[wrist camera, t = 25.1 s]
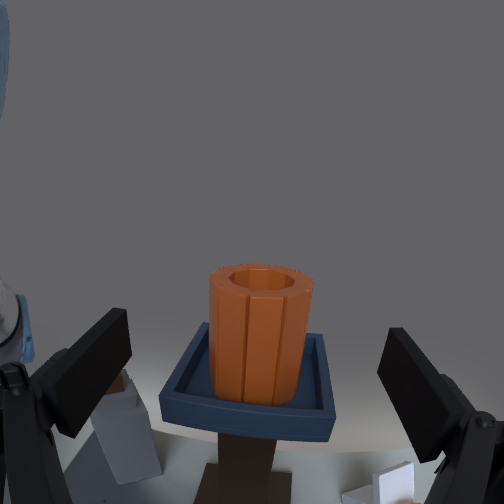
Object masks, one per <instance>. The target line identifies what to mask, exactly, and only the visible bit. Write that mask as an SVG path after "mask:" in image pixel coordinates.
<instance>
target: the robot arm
mask: <svg viewBox="0 0 504 504" xmlns="http://www.w3.org/2000/svg"><path fill="white" fill-rule="evenodd" d="M8 61H9V20H8V14H7V10H6V7H5V5H4V4H3V2H2V1H1V0H0V118H1V115H2V111H3V107H4V101H5V92H6V88H5V86H6V81H7V75H8ZM131 356H132V351H131V344H130V337H129V329H128V321H127V311H126V309H119V308H112V309H111V310H110V311H109V312H108V313H107V314H106V315H105V316H104V317H102V318H101V319H100V320H99V321H98V322H97V323H96V324H95V325H94V326H93V327H92V328H90V329H89V330H88V331H87V332H86V333H85V334H84V335H83V336H82V337H81V338H80V339H79V340H78V341H77V342H76V343H75V344H74V345H72V346H71V347H70V348H69V349H66V348H64V349H62V350H60V351H58V352H56V353H55V354H54V355H53V356H52V357H51V358H50V359H49V360H47V361H46V362H45V363H44V365H42V366H41V367H40V368H39V369H38V370H37V371H36V372H35V373H34V374H33V375H32V376H31V377H30V378H29V377H28V374H27V371H26V368H25V365H24V364H26V363H30V362H32V361H33V360H34V357H35V352H34V346H33V340H32V334H31V327H30V320H29V313H28V305H27V300H26V297H25V296H23V295H18V294H17V295H15V294H14V293H13V291H12V290H11V289H10V288H9V287H8V286H7V285H6V284H5V283H3V282H1V279H0V384H1V386H2V387H1V386H0V504H3V498H4V487H5V479H6V472H7V479H8V486H9V492H10V498H11V503H12V504H73V502H72V500H71V497H70V494H69V491H68V488H67V485H66V482H65V478H64V475H63V472H62V468H61V465H60V461H59V457H58V453H57V449H56V445H55V441H54V436H53V433H52V431H51V429H50V428H51V427H52V426H53V425H54V423H55V424H56V427H57V429H58V431H59V433H61V434H64V435H66V436H68V437H71V438H74V439H75V437H76V436H77V434H78V433H79V431H80V430H81V428H82V427H83V425H84V424H85V422H86V421H87V419H88V418H89V417H90V415H91V414H92V412H93V411H94V409H95V408H96V406H97V405H98V403H99V402H100V400H101V399H102V397H103V396H104V395H105V393H106V392H107V390H108V389H109V387H110V386H111V385H112V383H113V382H114V380H115V379H116V377H117V376H118V375H119V373H120V372H121V370H122V369H123V367H124V366H125V365H126V363H127V362H128V360H129V359H130V357H131ZM377 374H378V376H379V377H380V380H381V381H382V384H383V386H384V388H385V390H386V392H387V394H388V396H389V397H390V400H391V402H392V404H393V406H394V408H395V410H396V412H397V414H398V416H399V418H400V420H401V422H402V425H403V427H404V429H405V431H406V433H407V435H408V437H409V440H410V442H411V444H412V446H413V448H414V451H415V453H416V455H417V457H418V459H419V462H420V464H421V463H425V462H429V461H433V460H436V459H437V458H438V456H439V455H440V453H441V452H442V450H443V451H444V453H445V455H446V457H445V458H444V460H443V461H442V462H441V464H440V465H439V467H438V468H437V469H436V471H435V472H434V473H437V472H438V473H437V476H436V478H435V481H434V483H433V485H432V487H431V490H430V492H429V494H428V496H427V498H426V500H425V503H424V504H504V421H496V419H495V418H494V417H493V416H492V415H491V414H489V413H487V412H483V411H476V410H475V408H474V407H473V406H472V404H471V403H470V402H469V400H468V399H467V398H466V396H465V395H464V394H462V391H461V390H460V389H459V388H458V386H457V385H456V384H455V382H454V381H453V380H452V379H451V378H449V377H448V376H446V375H445V374H439V373H438V372H437V370H436V369H435V367H434V366H433V365H432V363H430V361H429V360H428V359H427V357H426V356H425V355H424V353H423V352H422V351H421V350H420V348H419V347H418V346H417V345H416V343H415V342H414V341H413V340H412V339H411V337H410V336H409V335H408V334H407V332H406V331H405V330H404V329H403V328H389V332H388V336H387V340H386V343H385V347H384V351H383V354H382V357H381V361H380V364H379V368H378V371H377Z"/></svg>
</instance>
